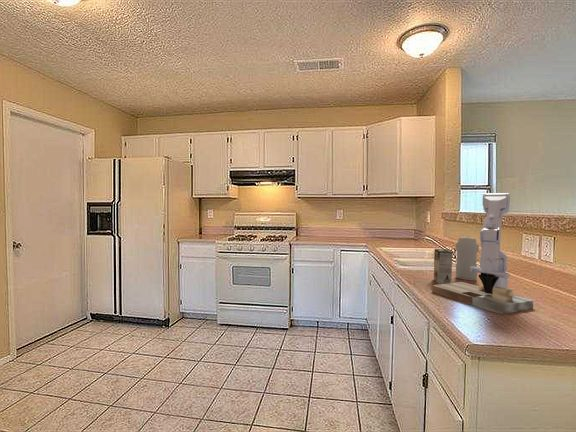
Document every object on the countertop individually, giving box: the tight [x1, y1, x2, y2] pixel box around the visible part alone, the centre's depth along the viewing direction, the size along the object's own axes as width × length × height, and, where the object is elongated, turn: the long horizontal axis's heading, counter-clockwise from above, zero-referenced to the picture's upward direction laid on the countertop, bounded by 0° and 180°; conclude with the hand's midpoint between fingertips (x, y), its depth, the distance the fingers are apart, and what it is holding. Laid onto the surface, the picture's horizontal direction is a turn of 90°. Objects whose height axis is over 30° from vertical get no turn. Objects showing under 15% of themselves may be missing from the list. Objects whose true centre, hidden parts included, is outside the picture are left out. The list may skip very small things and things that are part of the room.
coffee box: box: [433, 248, 453, 285], centre depth 155 cm, size 9×6×16 cm
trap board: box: [431, 281, 534, 315], centre depth 126 cm, size 18×30×3 cm, turn 23°
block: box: [493, 287, 514, 301], centre depth 117 cm, size 4×4×4 cm
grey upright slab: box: [455, 236, 480, 282], centre depth 162 cm, size 11×4×22 cm, turn 51°
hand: (488, 292), depth 123 cm, fingers closed
